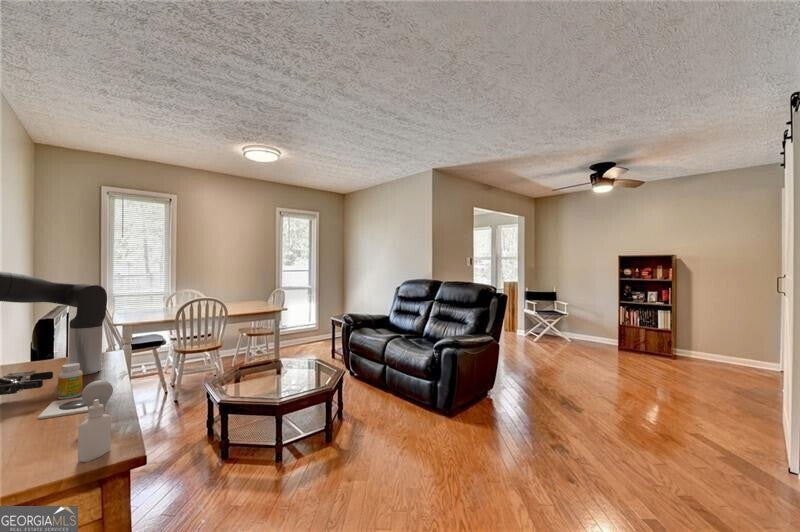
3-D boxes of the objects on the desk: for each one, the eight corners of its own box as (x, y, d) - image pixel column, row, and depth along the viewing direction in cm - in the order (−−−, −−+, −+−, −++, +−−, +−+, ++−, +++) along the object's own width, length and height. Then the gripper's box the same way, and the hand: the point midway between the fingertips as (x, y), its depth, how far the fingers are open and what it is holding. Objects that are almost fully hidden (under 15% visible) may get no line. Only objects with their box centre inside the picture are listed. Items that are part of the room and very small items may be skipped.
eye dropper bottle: (74, 457, 72) (76, 401, 72) (108, 446, 77) (109, 393, 77) (79, 465, 70) (81, 406, 70) (114, 453, 74) (116, 398, 74)
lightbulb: (76, 430, 84) (77, 386, 84) (85, 420, 89) (86, 378, 89) (108, 426, 86) (109, 382, 86) (115, 416, 92) (116, 375, 92)
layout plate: (53, 403, 99) (53, 400, 99) (110, 395, 106) (110, 393, 106) (37, 419, 89) (37, 416, 89) (102, 409, 96) (102, 407, 96)
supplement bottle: (66, 400, 102) (67, 367, 102) (52, 398, 103) (53, 366, 103) (86, 393, 107) (87, 363, 107) (73, 392, 108) (74, 361, 108)
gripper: (-50, 382, 88) (39, 373, 96) (-20, 367, 100) (56, 360, 108) (-50, 411, 88) (38, 399, 96) (-21, 393, 100) (55, 384, 108)
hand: (47, 379), depth 102 cm, fingers open, 8 cm apart
